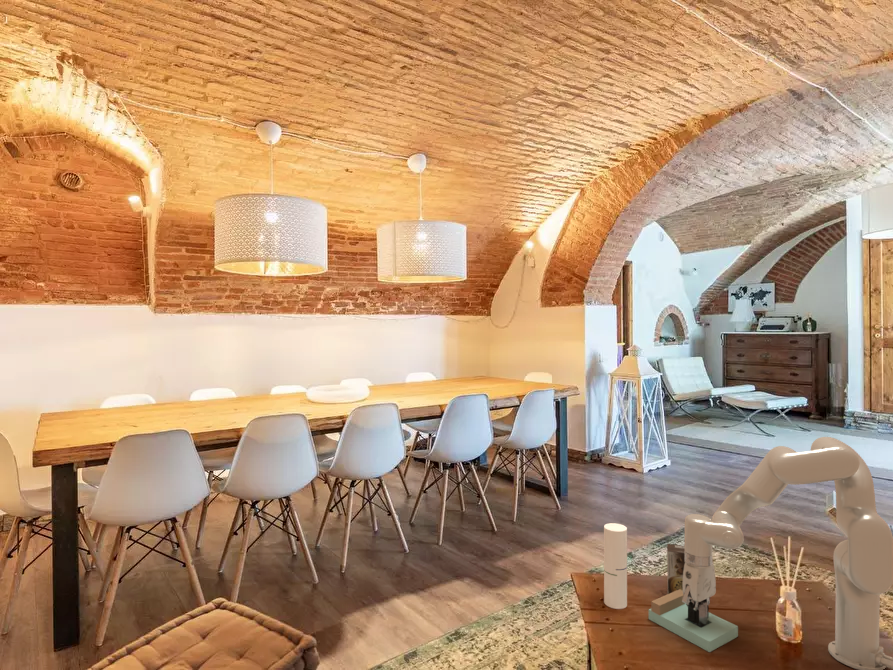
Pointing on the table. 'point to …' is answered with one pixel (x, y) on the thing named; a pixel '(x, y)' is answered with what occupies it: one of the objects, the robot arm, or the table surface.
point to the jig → (690, 622)
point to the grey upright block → (702, 614)
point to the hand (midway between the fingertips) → (698, 618)
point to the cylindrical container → (615, 565)
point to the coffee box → (675, 567)
